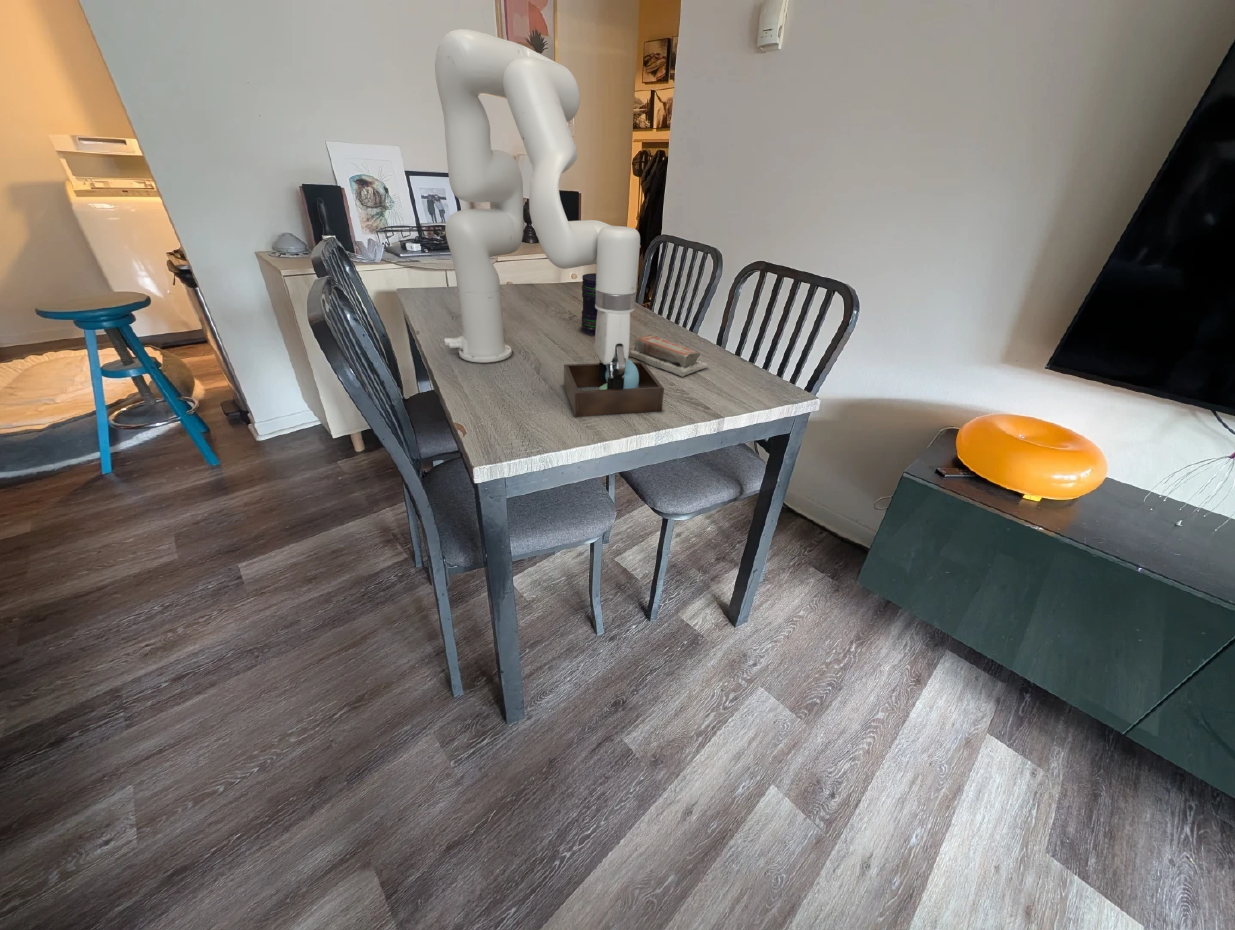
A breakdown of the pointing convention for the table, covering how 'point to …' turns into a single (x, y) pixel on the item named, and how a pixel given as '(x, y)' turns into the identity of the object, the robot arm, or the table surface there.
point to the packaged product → (666, 355)
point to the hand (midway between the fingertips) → (610, 387)
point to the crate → (611, 392)
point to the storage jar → (589, 304)
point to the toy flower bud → (625, 376)
